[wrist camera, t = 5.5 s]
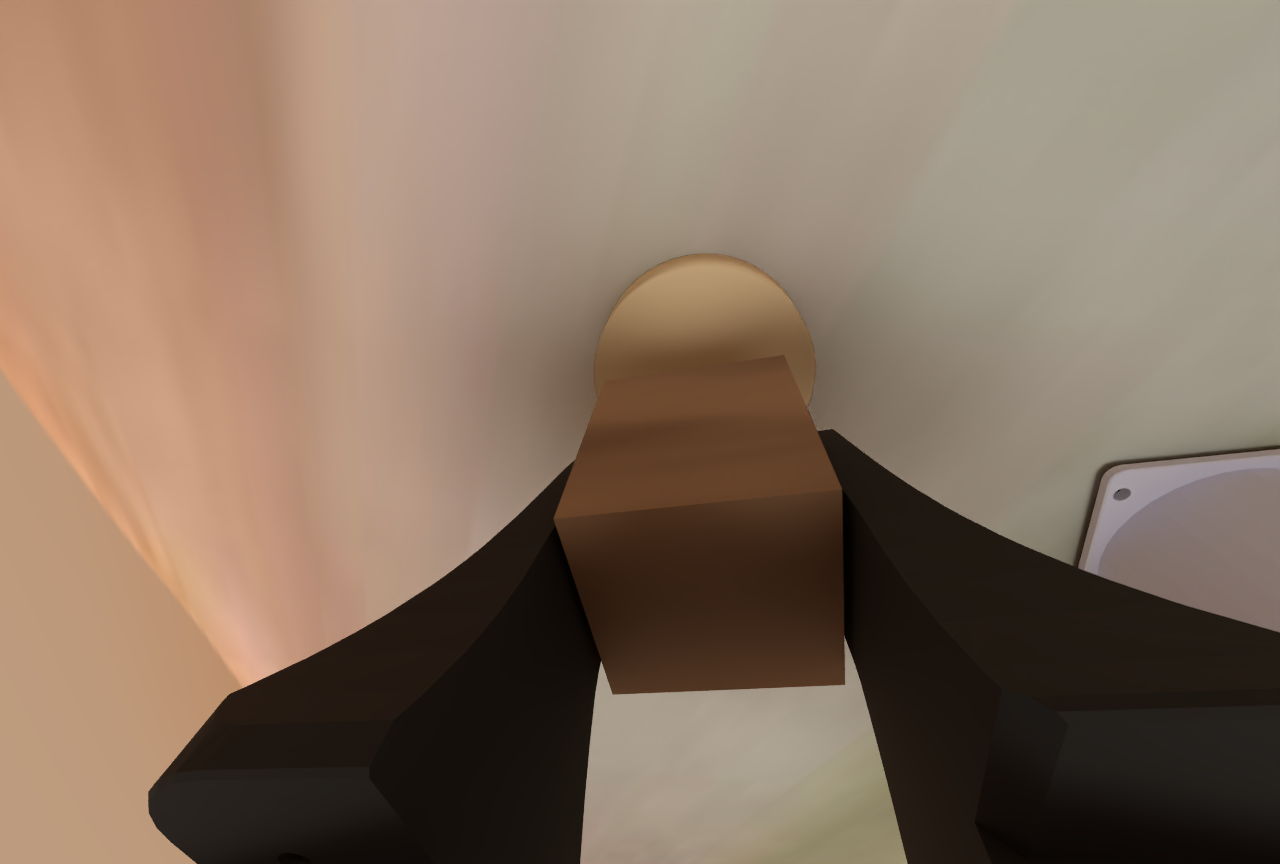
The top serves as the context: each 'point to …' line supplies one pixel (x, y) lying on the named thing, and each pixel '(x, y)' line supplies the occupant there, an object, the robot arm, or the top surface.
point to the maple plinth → (703, 322)
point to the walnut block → (707, 533)
